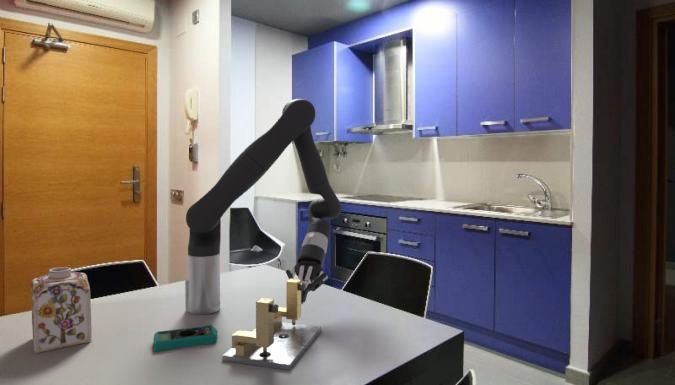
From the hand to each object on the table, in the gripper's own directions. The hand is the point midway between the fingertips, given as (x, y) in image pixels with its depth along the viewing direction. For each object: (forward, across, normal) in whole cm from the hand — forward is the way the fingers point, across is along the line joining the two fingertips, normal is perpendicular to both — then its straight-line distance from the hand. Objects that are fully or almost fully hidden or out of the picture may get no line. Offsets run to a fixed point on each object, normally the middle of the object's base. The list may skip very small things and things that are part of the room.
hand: (299, 302), depth 117 cm
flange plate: (+14, -1, -5) cm, 15 cm away
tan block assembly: (+13, -2, -6) cm, 15 cm away
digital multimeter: (+18, -23, -8) cm, 30 cm away
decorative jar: (+23, -53, -14) cm, 59 cm away
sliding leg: (+6, -2, 0) cm, 7 cm away
